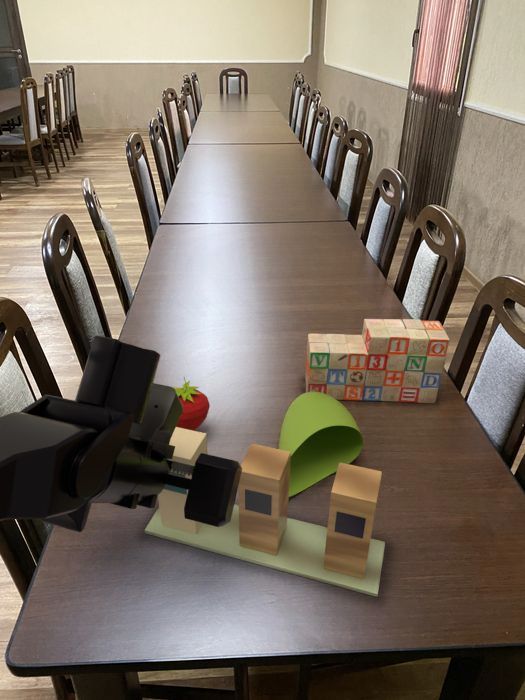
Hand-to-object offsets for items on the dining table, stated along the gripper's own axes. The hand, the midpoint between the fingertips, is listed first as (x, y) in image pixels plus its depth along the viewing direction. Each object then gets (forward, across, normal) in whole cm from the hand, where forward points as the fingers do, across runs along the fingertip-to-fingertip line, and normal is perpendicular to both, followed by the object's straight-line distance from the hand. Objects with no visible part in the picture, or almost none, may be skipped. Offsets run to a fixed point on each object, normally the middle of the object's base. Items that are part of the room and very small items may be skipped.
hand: (174, 476), depth 61 cm
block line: (+8, -10, +5) cm, 14 cm away
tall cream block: (+8, 0, +4) cm, 9 cm away
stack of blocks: (+32, -18, -20) cm, 42 cm away
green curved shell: (+20, -12, -7) cm, 24 cm away
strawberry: (+18, +7, -5) cm, 20 cm away
